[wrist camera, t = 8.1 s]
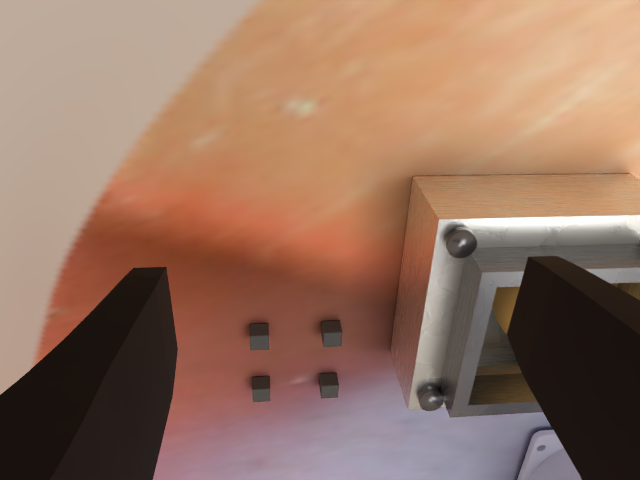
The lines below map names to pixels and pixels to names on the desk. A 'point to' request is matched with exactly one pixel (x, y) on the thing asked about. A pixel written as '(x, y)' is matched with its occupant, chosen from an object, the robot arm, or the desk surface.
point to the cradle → (327, 380)
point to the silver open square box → (496, 275)
